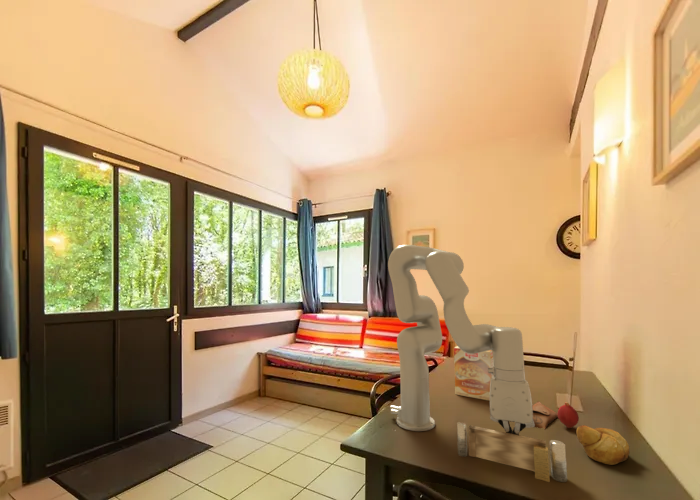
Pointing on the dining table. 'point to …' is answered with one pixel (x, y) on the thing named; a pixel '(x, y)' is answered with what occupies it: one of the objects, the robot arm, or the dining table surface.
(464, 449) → the hinge post
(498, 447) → the strip
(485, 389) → the coffeecake box
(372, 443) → the dining table surface
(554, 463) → the slab and cylinder
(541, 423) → the sunglasses case
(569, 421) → the red round fruit
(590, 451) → the bread roll
